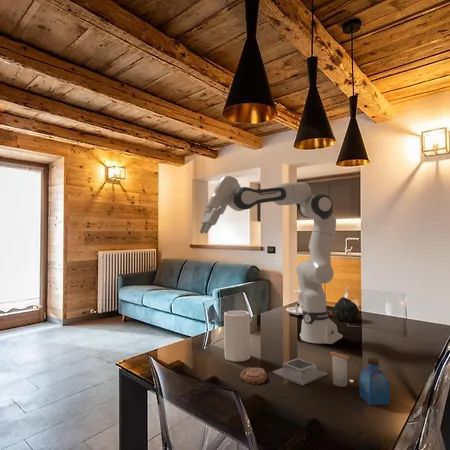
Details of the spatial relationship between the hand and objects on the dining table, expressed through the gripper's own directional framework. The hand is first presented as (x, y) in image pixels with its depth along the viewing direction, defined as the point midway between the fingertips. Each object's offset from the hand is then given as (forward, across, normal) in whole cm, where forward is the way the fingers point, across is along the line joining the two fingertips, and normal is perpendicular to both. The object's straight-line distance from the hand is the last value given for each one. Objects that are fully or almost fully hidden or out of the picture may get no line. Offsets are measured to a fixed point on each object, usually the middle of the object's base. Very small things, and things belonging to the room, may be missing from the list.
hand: (202, 232), depth 152 cm
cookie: (+41, -38, -35) cm, 66 cm away
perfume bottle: (+27, -63, -61) cm, 91 cm away
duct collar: (+33, -39, -49) cm, 71 cm away
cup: (+42, -16, -35) cm, 56 cm away
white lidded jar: (+28, -50, -58) cm, 82 cm away
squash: (+4, +28, -109) cm, 113 cm away
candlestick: (+14, +48, -91) cm, 104 cm away
